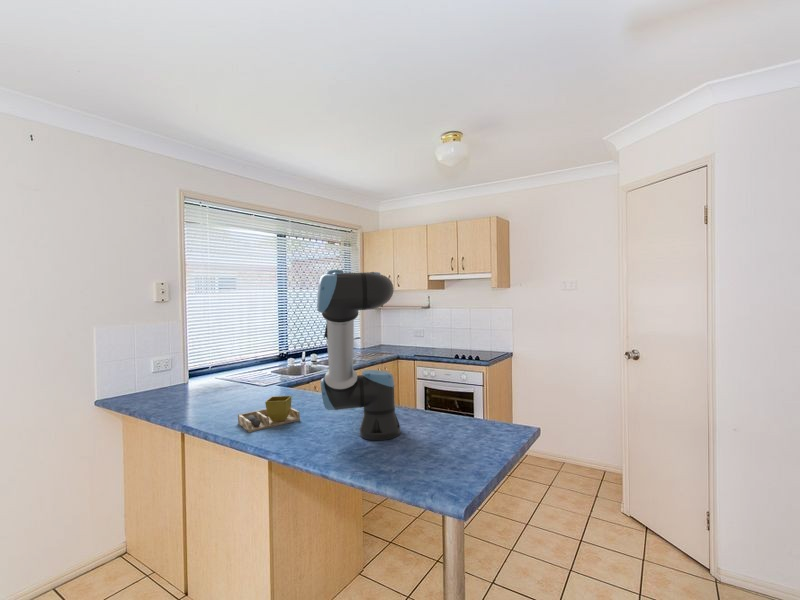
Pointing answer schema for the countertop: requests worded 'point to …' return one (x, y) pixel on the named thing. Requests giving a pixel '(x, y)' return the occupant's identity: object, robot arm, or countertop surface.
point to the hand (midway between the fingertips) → (338, 354)
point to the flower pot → (278, 407)
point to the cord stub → (253, 420)
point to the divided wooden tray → (265, 419)
